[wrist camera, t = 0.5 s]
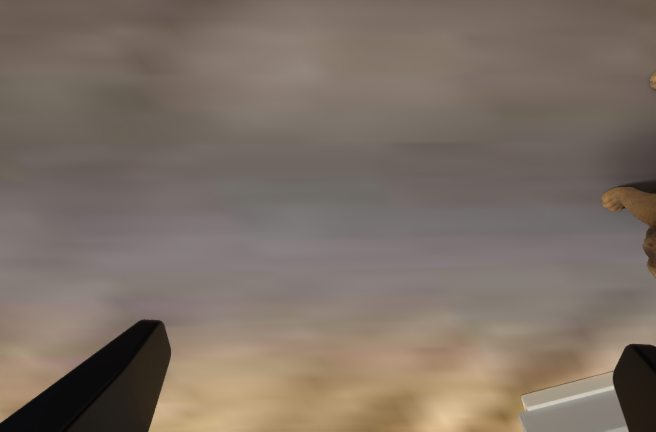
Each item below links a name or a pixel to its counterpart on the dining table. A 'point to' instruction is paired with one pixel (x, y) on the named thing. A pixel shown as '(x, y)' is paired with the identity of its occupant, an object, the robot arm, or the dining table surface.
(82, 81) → the dining table surface
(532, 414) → the box
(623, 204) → the lion figurine
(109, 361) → the robot arm
